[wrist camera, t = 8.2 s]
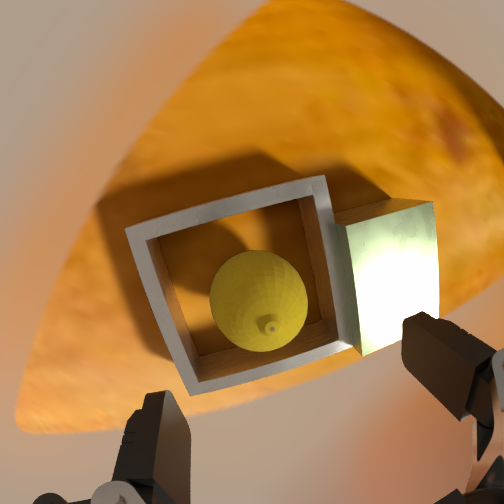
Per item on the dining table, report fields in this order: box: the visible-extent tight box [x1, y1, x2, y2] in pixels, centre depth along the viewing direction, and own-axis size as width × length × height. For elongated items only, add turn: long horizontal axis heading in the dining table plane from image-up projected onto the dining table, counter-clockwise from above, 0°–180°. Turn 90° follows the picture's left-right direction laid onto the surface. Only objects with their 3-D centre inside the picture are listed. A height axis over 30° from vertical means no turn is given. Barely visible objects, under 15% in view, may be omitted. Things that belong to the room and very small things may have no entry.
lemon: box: [209, 250, 308, 352], centre depth 17 cm, size 6×6×8 cm
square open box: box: [125, 175, 439, 396], centre depth 19 cm, size 19×12×5 cm, turn 104°
